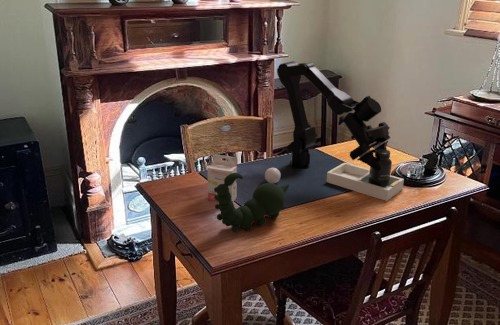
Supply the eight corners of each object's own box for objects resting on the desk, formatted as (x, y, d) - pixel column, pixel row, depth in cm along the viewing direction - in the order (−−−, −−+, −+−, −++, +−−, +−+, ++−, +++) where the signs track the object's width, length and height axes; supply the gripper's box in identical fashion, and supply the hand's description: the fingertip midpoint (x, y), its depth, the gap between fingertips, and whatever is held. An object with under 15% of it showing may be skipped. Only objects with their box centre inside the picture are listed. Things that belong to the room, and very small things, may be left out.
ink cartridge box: (207, 200, 162) (206, 158, 156) (213, 194, 166) (212, 153, 161) (231, 204, 159) (231, 162, 154) (237, 198, 164) (237, 156, 158)
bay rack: (326, 182, 176) (327, 171, 175) (343, 171, 185) (344, 161, 183) (387, 201, 162) (388, 189, 161) (402, 189, 171) (404, 178, 169)
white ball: (275, 178, 179) (276, 164, 177) (283, 184, 174) (283, 169, 172) (256, 182, 176) (256, 167, 174) (263, 188, 171) (264, 173, 169)
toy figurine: (231, 247, 139) (300, 214, 152) (225, 186, 131) (298, 157, 144) (212, 233, 146) (280, 203, 159) (206, 174, 138) (277, 147, 151)
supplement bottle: (383, 190, 165) (388, 156, 161) (364, 184, 169) (368, 151, 164) (392, 183, 170) (396, 150, 166) (373, 178, 174) (377, 146, 169)
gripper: (361, 122, 156) (390, 163, 154) (388, 109, 170) (414, 148, 167) (337, 140, 164) (364, 180, 162) (364, 126, 177) (390, 163, 175)
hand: (384, 167), depth 166 cm, fingers closed on supplement bottle, 7 cm apart
